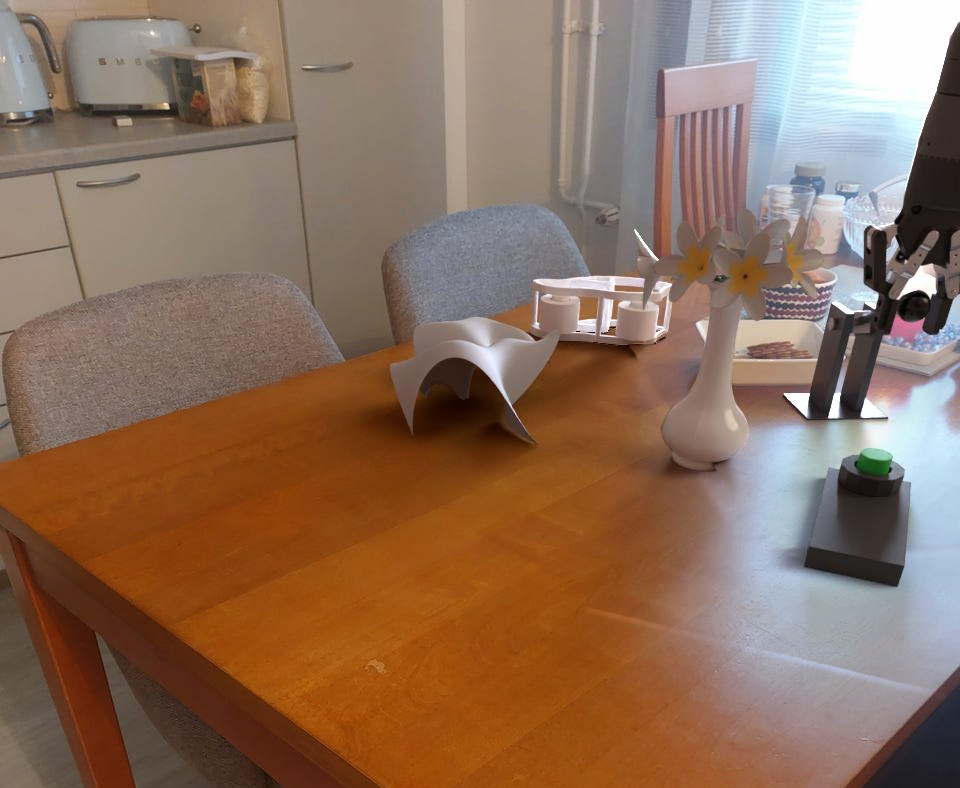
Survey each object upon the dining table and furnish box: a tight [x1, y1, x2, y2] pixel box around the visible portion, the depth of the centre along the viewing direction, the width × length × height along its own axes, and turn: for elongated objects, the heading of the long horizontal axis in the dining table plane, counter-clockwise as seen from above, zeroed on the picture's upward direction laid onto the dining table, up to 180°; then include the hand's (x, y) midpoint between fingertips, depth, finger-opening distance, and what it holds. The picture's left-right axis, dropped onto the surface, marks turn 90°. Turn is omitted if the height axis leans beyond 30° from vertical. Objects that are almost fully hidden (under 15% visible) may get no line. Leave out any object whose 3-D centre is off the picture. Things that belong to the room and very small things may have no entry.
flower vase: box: [633, 207, 825, 472], centre depth 94 cm, size 13×18×25 cm
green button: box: [856, 447, 894, 475], centre depth 91 cm, size 3×3×2 cm
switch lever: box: [849, 289, 931, 337], centre depth 101 cm, size 15×3×3 cm, turn 6°
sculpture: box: [389, 316, 561, 446], centre depth 111 cm, size 25×19×10 cm
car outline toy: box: [529, 275, 673, 344], centre depth 133 cm, size 20×11×7 cm, turn 78°
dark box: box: [803, 454, 912, 588], centre depth 88 cm, size 19×8×4 cm, turn 157°
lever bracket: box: [782, 302, 889, 421], centre depth 109 cm, size 8×10×13 cm
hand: (906, 332), depth 96 cm, fingers open, 4 cm apart
